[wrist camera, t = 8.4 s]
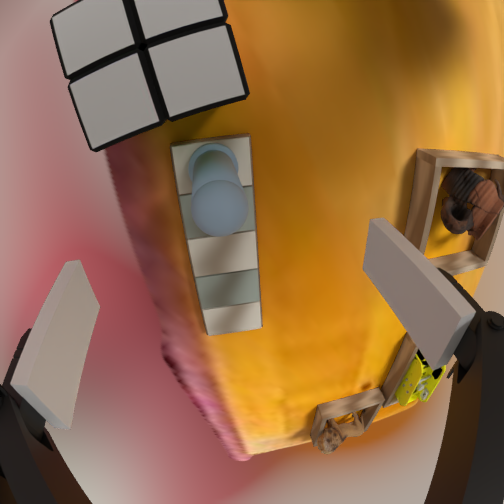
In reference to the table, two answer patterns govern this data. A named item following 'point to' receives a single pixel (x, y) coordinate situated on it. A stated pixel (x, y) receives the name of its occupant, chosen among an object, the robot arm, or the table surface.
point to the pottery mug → (474, 192)
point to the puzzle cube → (145, 63)
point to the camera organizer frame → (398, 370)
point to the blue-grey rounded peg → (217, 190)
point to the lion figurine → (339, 433)
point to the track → (222, 246)
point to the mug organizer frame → (425, 201)
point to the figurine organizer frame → (347, 410)
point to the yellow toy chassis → (418, 381)
